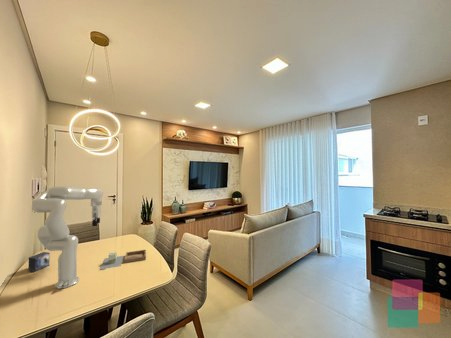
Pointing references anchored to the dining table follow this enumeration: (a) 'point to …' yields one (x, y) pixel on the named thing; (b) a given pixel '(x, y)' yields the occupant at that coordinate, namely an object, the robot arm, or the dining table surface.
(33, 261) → the small box
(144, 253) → the walnut bin
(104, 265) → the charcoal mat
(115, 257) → the sage block
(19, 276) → the dining table surface
